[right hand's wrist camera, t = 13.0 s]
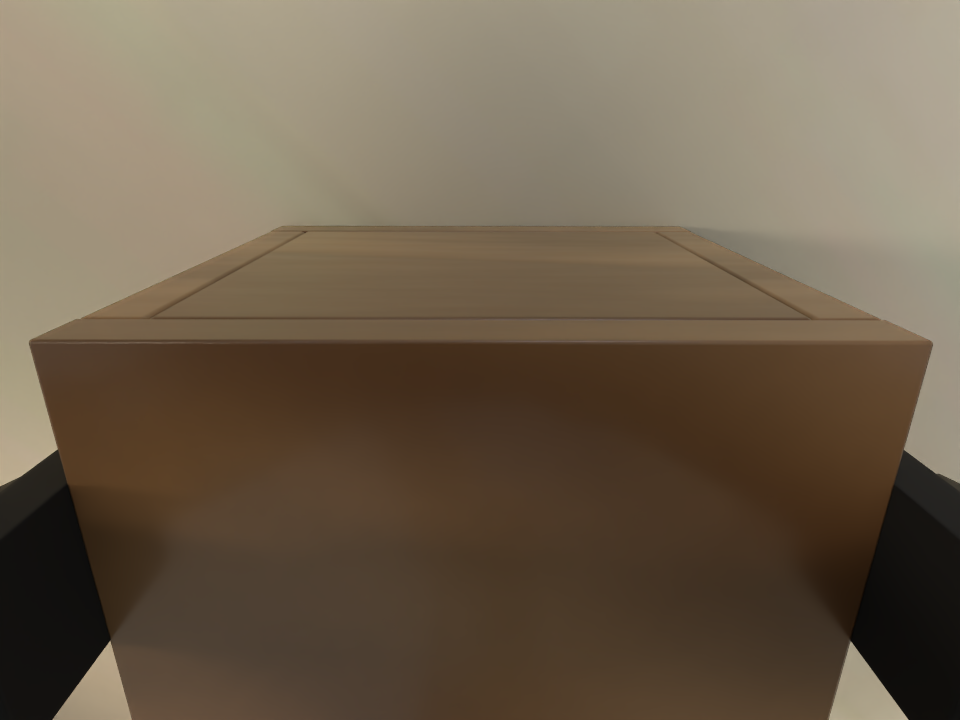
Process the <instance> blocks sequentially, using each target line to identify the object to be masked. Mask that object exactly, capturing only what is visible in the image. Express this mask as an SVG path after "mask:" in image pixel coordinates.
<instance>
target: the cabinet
mask: <svg viewBox="0 0 960 720" xmlns="http://www.w3.org/2000/svg"><path fill="white" fill-rule="evenodd" d="M29 345H30V349H31V353H32V356H33V360H34V364H35V367H36V371H37V375H38V378H39V382H40V386H41V389H42V393H43V396H44V400H45V404H46V407H47V411H48V415H49V418H50V422H51V426H52V429H53V433H54V436H55V440H56V444H57V447H58V451H59V455H60V458H61V462H62V466H63V469H64V473H65V477H66V480H67V484H68V487H69V491H70V495H71V498H72V502H73V506H74V509H75V513H76V517H77V520H78V524H79V527H80V531H81V535H82V538H83V542H84V546H85V549H86V553H87V557H88V560H89V564H90V567H91V571H92V575H93V578H94V582H95V586H96V589H97V593H98V596H99V600H100V604H101V607H102V611H103V615H104V618H105V622H106V625H107V629H108V633H109V636H110V640H111V644H112V648H113V651H114V655H115V659H116V662H117V666H118V670H119V673H120V677H121V680H122V684H123V688H124V691H125V695H126V699H127V702H128V706H129V710H130V713H131V717H132V720H829V716H830V713H831V709H832V705H833V702H834V698H835V695H836V691H837V688H838V684H839V680H840V677H841V673H842V670H843V666H844V662H845V659H846V655H847V652H848V648H849V644H850V641H851V637H852V634H853V630H854V626H855V623H856V619H857V616H858V612H859V609H860V605H861V601H862V598H863V594H864V591H865V587H866V583H867V580H868V576H869V573H870V569H871V565H872V562H873V558H874V555H875V551H876V547H877V544H878V540H879V537H880V533H881V530H882V526H883V522H884V519H885V515H886V512H887V508H888V504H889V501H890V497H891V494H892V490H893V486H894V483H895V479H896V476H897V472H898V468H899V465H900V461H901V458H902V454H903V451H904V447H905V443H906V440H907V436H908V433H909V429H910V425H911V422H912V418H913V415H914V411H915V407H916V404H917V400H918V397H919V393H920V389H921V386H922V382H923V379H924V375H925V372H926V368H927V364H928V361H929V357H930V354H931V350H932V346H933V343H932V341H930V340H927V339H925V338H923V337H921V336H919V335H916V334H914V333H912V332H910V331H908V330H905V329H903V328H901V327H899V326H897V325H894V324H892V323H890V322H888V321H886V320H881V319H879V318H877V317H874V316H872V315H870V314H868V313H866V312H864V311H861V310H859V309H857V308H855V307H853V306H850V305H848V304H846V303H844V302H842V301H840V300H837V299H835V298H833V297H831V296H829V295H826V294H824V293H822V292H820V291H818V290H816V289H813V288H811V287H809V286H807V285H805V284H802V283H800V282H798V281H796V280H794V279H792V278H789V277H787V276H785V275H783V274H781V273H778V272H776V271H774V270H772V269H770V268H768V267H765V266H763V265H761V264H759V263H757V262H754V261H752V260H750V259H748V258H746V257H744V256H741V255H739V254H737V253H735V252H733V251H730V250H728V249H726V248H724V247H722V246H720V245H717V244H715V243H713V242H711V241H709V240H706V239H704V238H702V237H700V236H698V235H696V234H693V233H691V232H690V231H688V230H686V229H684V228H681V227H585V226H281V227H279V228H277V229H275V230H273V231H271V232H270V233H267V234H265V235H263V236H261V237H259V238H256V239H254V240H252V241H250V242H248V243H245V244H243V245H241V246H239V247H237V248H234V249H232V250H230V251H228V252H226V253H223V254H221V255H219V256H217V257H215V258H212V259H210V260H208V261H206V262H204V263H201V264H199V265H197V266H195V267H193V268H190V269H188V270H186V271H184V272H182V273H180V274H177V275H175V276H173V277H171V278H169V279H166V280H164V281H162V282H160V283H158V284H155V285H153V286H151V287H149V288H147V289H144V290H142V291H140V292H138V293H136V294H133V295H131V296H129V297H127V298H125V299H122V300H120V301H118V302H116V303H114V304H111V305H109V306H107V307H105V308H103V309H100V310H98V311H96V312H94V313H92V314H89V315H87V316H85V317H83V318H81V319H76V320H73V321H71V322H69V323H67V324H64V325H62V326H60V327H58V328H56V329H53V330H51V331H49V332H47V333H44V334H42V335H40V336H38V337H36V338H33V339H31V340H30V341H29Z"/></svg>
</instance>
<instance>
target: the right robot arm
mask: <svg viewBox="0 0 960 720" xmlns="http://www.w3.org/2000/svg"><path fill="white" fill-rule="evenodd" d="M109 641H110V636H109V633H108V629H107V625H106V622H105V618H104V615H103V611H102V607H101V604H100V600H99V596H98V593H97V589H96V586H95V582H94V578H93V575H92V571H91V567H90V564H89V560H88V557H87V553H86V549H85V546H84V542H83V538H82V535H81V531H80V527H79V524H78V520H77V517H76V513H75V509H74V506H73V502H72V498H71V495H70V491H69V487H68V484H67V480H66V477H65V473H64V469H63V466H62V462H61V458H60V455H59V451H58V450H56V451H55V452H54V453H52V454H51V455H50V456H48V457H47V458H46V459H44V460H43V461H42V462H40V463H39V464H37V465H36V466H35V467H33V468H32V469H31V470H29V471H28V472H27V473H25V474H24V475H23V476H21V477H19V478H17V479H15V480H13V481H11V482H9V483H7V484H5V485H2V486H0V720H52V719H53V718H54V716H55V715H56V714H57V712H58V711H59V710H60V708H61V707H62V705H63V704H64V703H65V701H66V700H67V699H68V697H69V696H70V695H71V693H72V692H73V690H74V689H75V688H76V686H77V685H78V684H79V682H80V681H81V680H82V678H83V677H84V675H85V674H86V673H87V671H88V670H89V669H90V667H91V666H92V665H93V663H94V662H95V660H96V659H97V658H98V656H99V655H100V654H101V652H102V651H103V650H104V648H105V647H106V645H107V644H108V643H109ZM851 642H852V643H853V644H854V646H855V647H856V649H857V650H858V651H859V653H860V654H861V655H862V657H863V658H864V659H865V661H866V662H867V664H868V665H869V666H870V668H871V669H872V670H873V672H874V673H875V674H876V676H877V677H878V679H879V680H880V681H881V683H882V684H883V685H884V687H885V688H886V689H887V691H888V692H889V694H890V695H891V696H892V698H893V699H894V700H895V702H896V703H897V704H898V706H899V707H900V709H901V710H902V711H903V713H904V714H905V715H906V717H907V718H908V719H909V720H960V484H959V483H957V482H955V481H953V480H951V479H949V478H947V477H945V476H943V475H940V474H935V473H934V472H933V471H931V470H930V469H929V468H927V467H926V466H925V465H923V464H922V463H921V462H919V461H918V460H917V459H915V458H914V457H913V456H911V455H910V454H908V453H907V452H906V451H903V454H902V458H901V461H900V465H899V468H898V472H897V476H896V479H895V483H894V486H893V490H892V494H891V497H890V501H889V504H888V508H887V512H886V515H885V519H884V522H883V526H882V530H881V533H880V537H879V540H878V544H877V547H876V551H875V555H874V558H873V562H872V565H871V569H870V573H869V576H868V580H867V583H866V587H865V591H864V594H863V598H862V601H861V605H860V609H859V612H858V616H857V619H856V623H855V626H854V630H853V634H852V637H851Z"/></svg>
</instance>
